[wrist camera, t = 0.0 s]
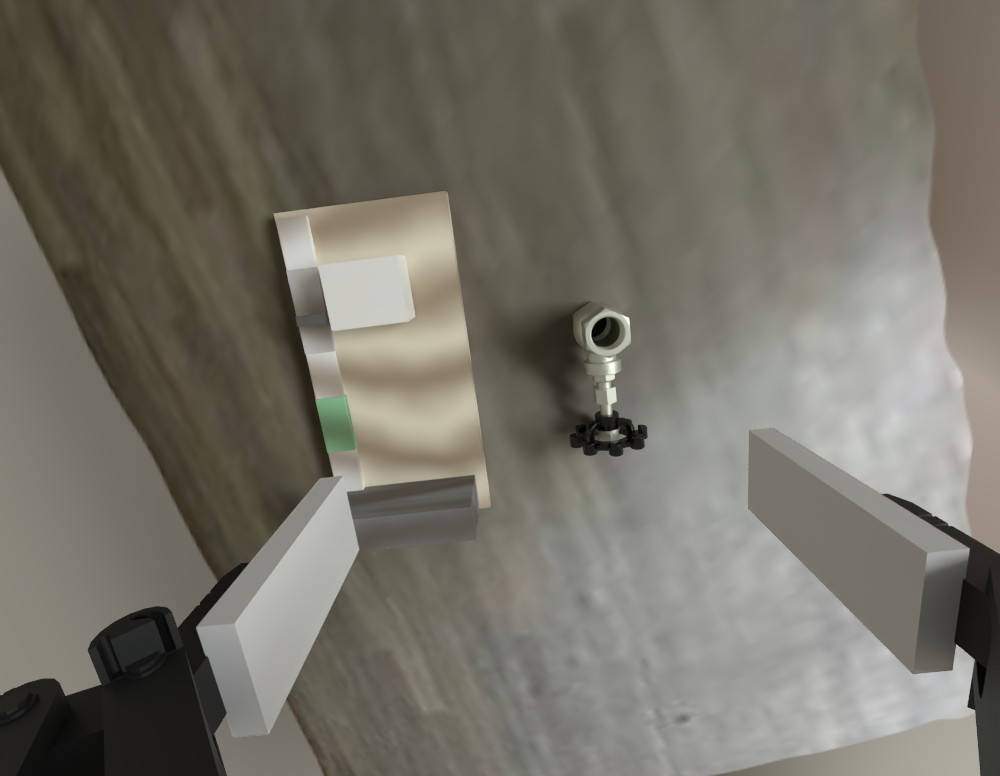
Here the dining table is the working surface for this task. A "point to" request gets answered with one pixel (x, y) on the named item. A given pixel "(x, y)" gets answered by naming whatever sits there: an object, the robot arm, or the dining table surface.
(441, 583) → the dining table surface
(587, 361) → the valve
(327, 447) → the board
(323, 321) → the white rectangular block
